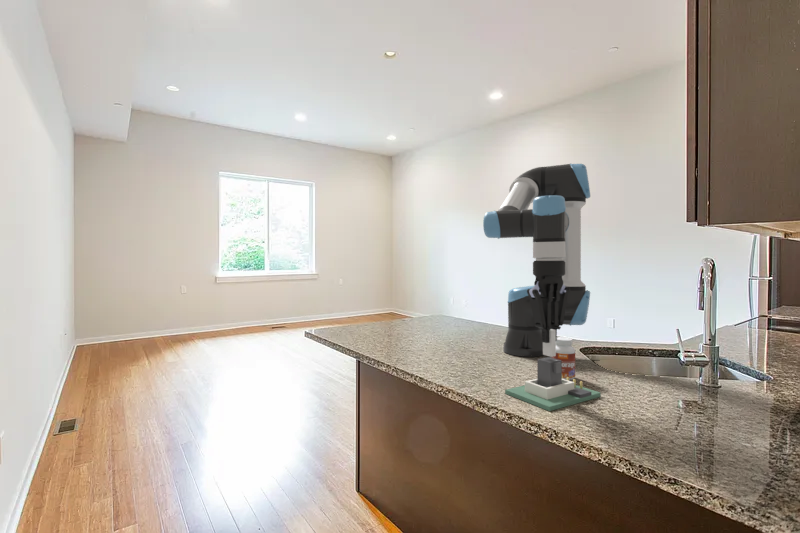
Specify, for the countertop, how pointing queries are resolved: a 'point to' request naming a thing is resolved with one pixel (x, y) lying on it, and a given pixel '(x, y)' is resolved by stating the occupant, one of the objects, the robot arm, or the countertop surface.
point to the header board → (552, 394)
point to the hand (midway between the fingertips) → (549, 355)
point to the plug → (549, 372)
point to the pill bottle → (566, 356)
